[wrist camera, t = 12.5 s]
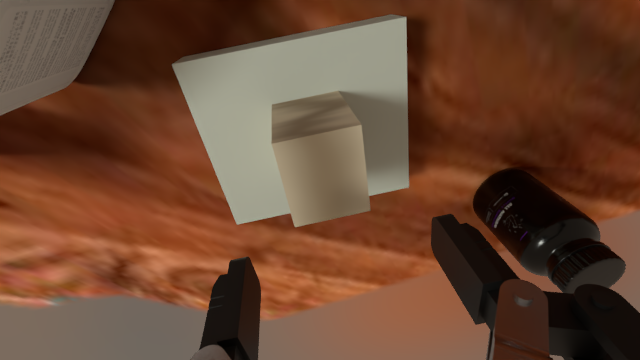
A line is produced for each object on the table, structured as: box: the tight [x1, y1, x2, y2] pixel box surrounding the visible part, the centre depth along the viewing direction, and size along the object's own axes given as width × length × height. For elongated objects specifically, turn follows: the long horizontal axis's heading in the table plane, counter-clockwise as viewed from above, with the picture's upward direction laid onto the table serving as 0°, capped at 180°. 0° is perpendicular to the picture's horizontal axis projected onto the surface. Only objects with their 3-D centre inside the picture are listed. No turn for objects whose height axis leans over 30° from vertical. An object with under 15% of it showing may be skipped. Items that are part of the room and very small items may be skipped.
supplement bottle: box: [473, 169, 626, 294], centre depth 29 cm, size 7×7×12 cm
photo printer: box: [0, 0, 115, 116], centre depth 15 cm, size 10×4×12 cm, turn 139°
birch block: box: [271, 91, 370, 227], centre depth 21 cm, size 5×6×7 cm
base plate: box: [172, 15, 409, 224], centre depth 25 cm, size 16×14×3 cm
